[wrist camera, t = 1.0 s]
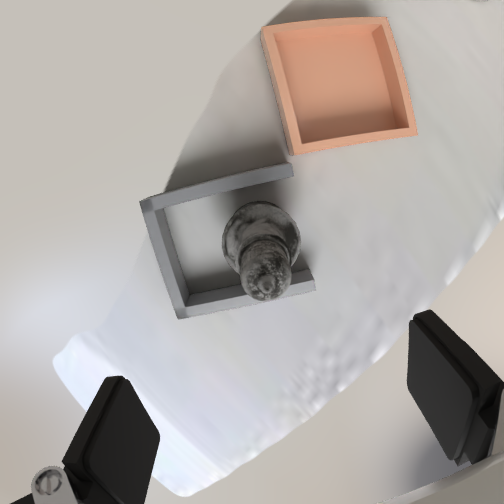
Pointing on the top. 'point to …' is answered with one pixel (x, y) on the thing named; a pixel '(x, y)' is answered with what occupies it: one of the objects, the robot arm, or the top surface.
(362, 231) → the top surface
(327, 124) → the dish
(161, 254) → the cubby
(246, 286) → the chess piece
